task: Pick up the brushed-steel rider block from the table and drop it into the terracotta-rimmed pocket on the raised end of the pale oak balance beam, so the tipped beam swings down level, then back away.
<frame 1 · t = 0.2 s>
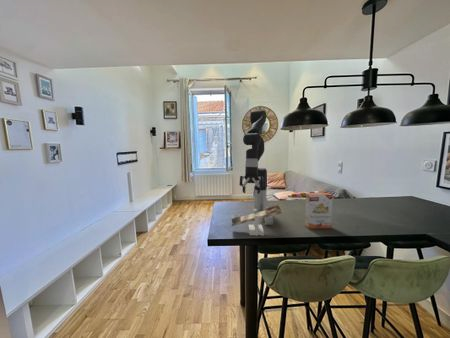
hand: (251, 193, 130), 22 cm above the table, tool pointing down, fingers open, 8 cm apart
cracker box: (318, 227, 131), on the table
pivot stand: (255, 231, 128), on the table
beam: (255, 214, 127), point 10 cm above the table, hinge at -15.0°
steel rider: (268, 223, 140), on the table
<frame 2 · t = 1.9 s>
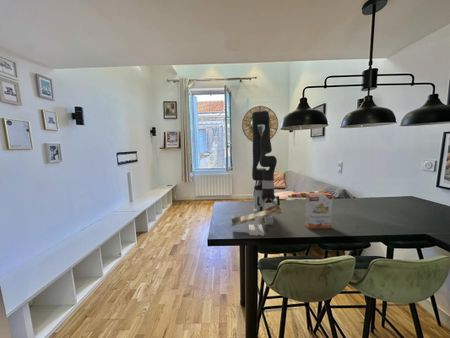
hand: (268, 212, 139), 8 cm above the table, tool pointing down, fingers open, 8 cm apart
nothing on the table moved.
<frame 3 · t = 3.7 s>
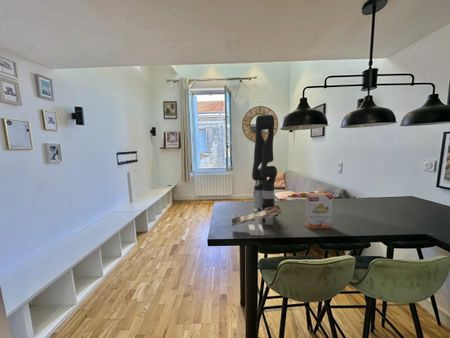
hand: (268, 222, 140), 0 cm above the table, tool pointing down, fingers closed on steel rider, 5 cm apart
steel rider: (268, 223, 140), on the table, touching gripper
everything else where it was.
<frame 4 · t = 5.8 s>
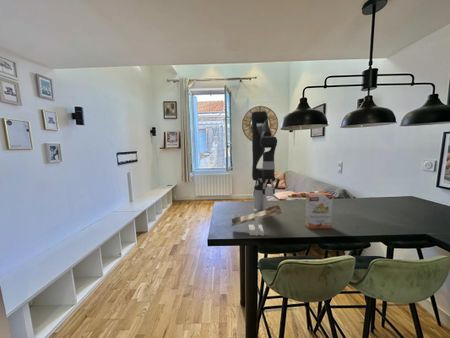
hand: (268, 194, 138), 19 cm above the table, tool pointing down, fingers closed on steel rider, 5 cm apart
steel rider: (268, 195, 138), point 18 cm above the table, touching gripper
everything else where it was.
when the fingers open (15 cm above the table, at t = 8.3 s): steel rider drops 4 cm, resting on beam.
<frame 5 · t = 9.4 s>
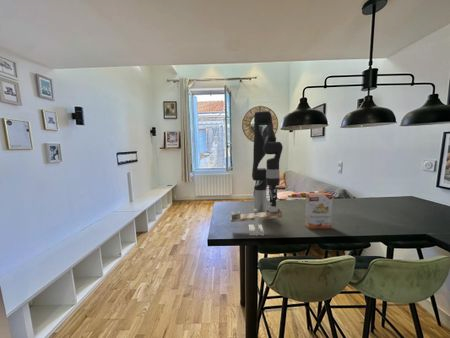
hand: (272, 204, 125), 16 cm above the table, tool pointing down, fingers open, 8 cm apart
beam: (255, 214, 127), point 10 cm above the table, hinge at -5.3°, touching steel rider
steel rider: (273, 213, 126), point 11 cm above the table, tilted 5°, touching beam
everything else where it was.
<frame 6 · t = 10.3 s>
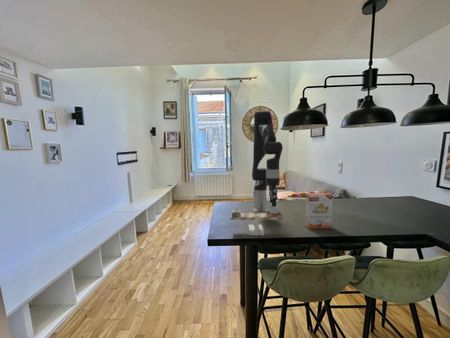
hand: (272, 204, 125), 16 cm above the table, tool pointing down, fingers open, 8 cm apart
beam: (255, 214, 127), point 10 cm above the table, hinge at 0.2°, touching steel rider
steel rider: (273, 214, 126), point 10 cm above the table, touching beam
everything else where it was.
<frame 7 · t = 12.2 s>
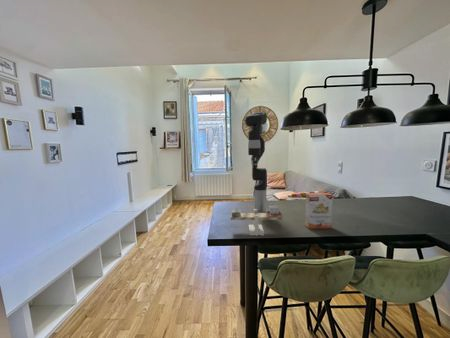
hand: (254, 173, 137), 33 cm above the table, tool pointing down, fingers open, 8 cm apart
nothing on the table moved.
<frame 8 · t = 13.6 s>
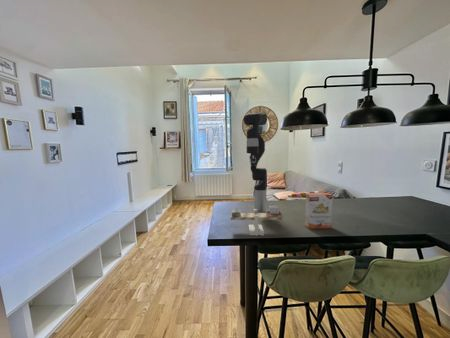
hand: (252, 171, 138), 34 cm above the table, tool pointing down, fingers open, 8 cm apart
nothing on the table moved.
at the end: beam at +0° (first picture: -15°); steel rider 0.4 cm from the target spot on the beam, point 0.7 cm above the beam's base; the gripper is holding nothing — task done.
